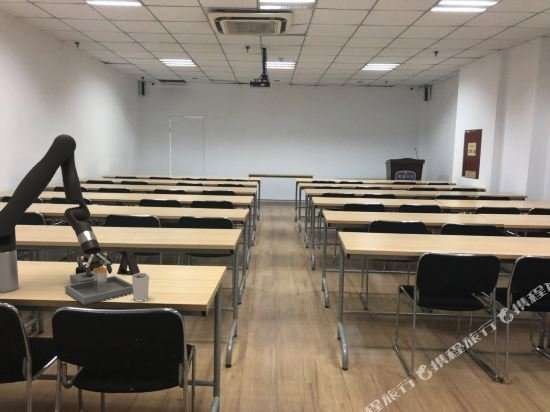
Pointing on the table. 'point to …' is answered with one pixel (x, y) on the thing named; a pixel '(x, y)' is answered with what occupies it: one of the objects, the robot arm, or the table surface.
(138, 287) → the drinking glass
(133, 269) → the black a-frame stand
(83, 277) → the socket block
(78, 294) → the tray
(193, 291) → the table surface
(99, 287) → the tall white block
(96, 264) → the hand tool
